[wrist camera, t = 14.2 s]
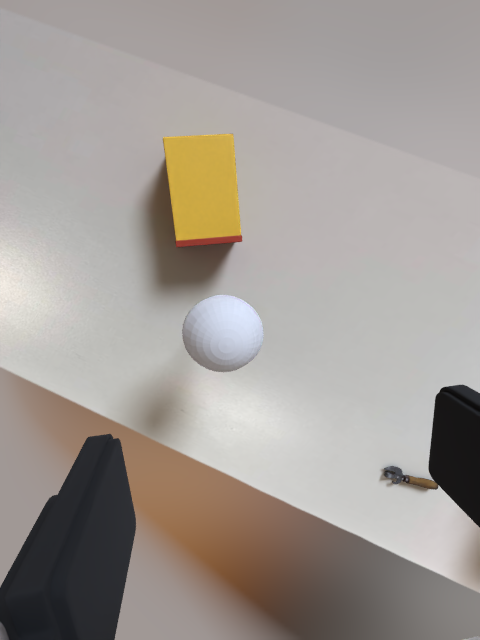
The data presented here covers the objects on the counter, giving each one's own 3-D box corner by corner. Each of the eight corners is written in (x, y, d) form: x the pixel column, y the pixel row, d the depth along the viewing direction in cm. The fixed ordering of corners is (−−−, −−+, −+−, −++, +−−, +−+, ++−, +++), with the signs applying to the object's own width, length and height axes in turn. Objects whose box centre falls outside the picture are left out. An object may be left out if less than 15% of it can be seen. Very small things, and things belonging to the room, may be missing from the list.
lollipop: (247, 283, 36) (281, 314, 22) (233, 333, 38) (258, 392, 23) (192, 270, 35) (192, 293, 21) (180, 321, 36) (172, 376, 22)
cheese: (167, 152, 32) (162, 136, 27) (228, 148, 33) (233, 133, 28) (179, 246, 34) (176, 247, 30) (235, 241, 35) (242, 241, 30)
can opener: (434, 479, 47) (440, 485, 46) (426, 492, 47) (431, 498, 46) (385, 461, 45) (389, 467, 44) (376, 475, 45) (381, 481, 44)
